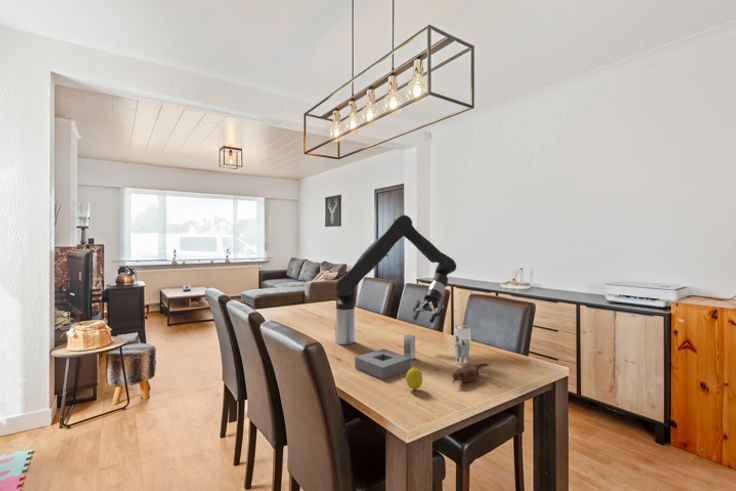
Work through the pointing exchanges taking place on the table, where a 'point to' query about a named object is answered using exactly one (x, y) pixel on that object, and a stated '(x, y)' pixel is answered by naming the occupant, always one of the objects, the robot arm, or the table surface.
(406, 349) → the steel bar
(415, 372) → the lemon
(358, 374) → the table surface
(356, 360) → the well block
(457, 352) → the beer glass
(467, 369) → the bird sculpture
